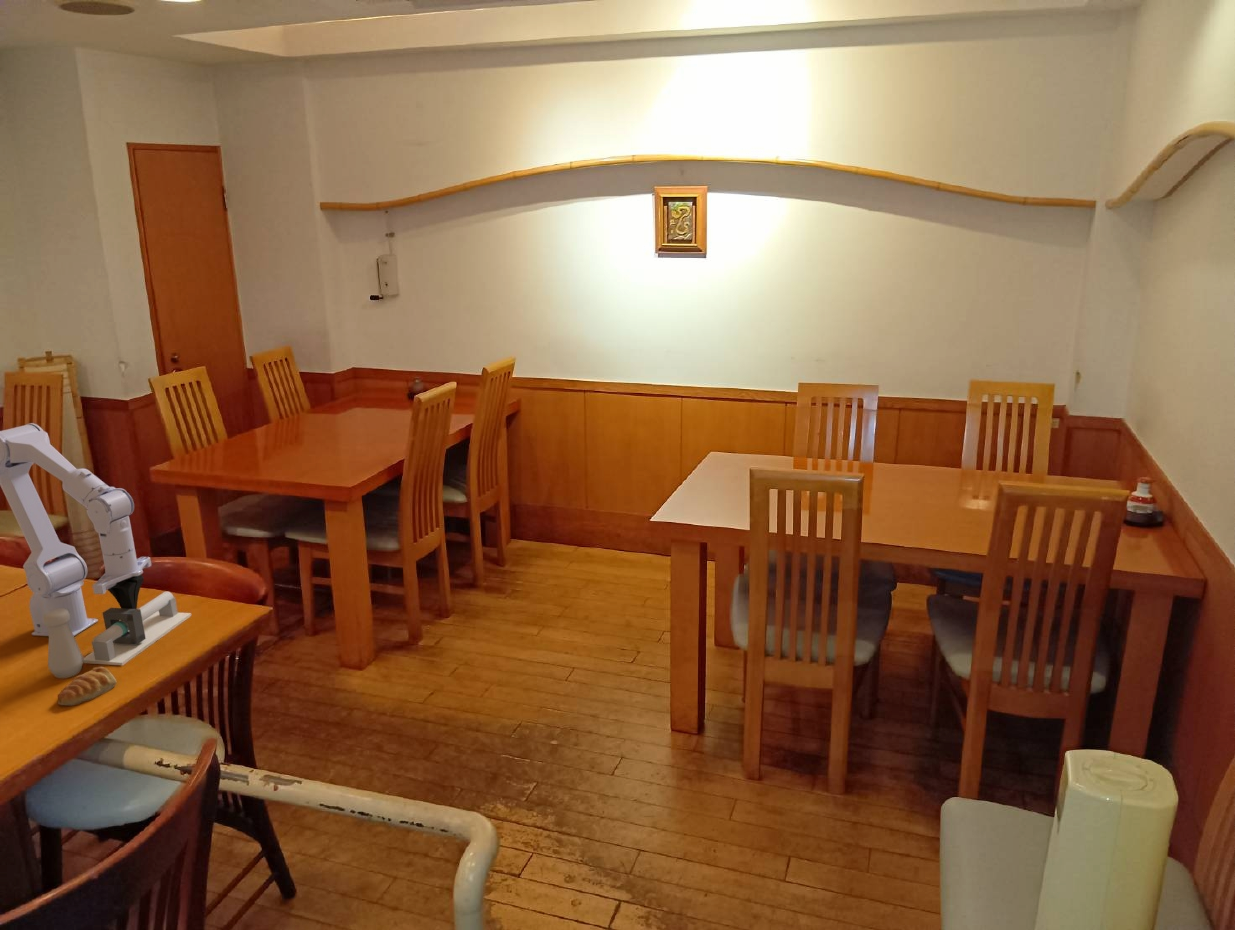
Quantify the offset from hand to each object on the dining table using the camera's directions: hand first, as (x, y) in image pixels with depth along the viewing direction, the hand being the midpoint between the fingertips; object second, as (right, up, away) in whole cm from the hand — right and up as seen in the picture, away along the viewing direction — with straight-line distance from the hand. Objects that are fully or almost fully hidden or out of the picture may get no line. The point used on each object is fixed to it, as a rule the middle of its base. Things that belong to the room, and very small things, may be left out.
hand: (130, 612), depth 178 cm
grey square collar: (0, -6, -1) cm, 6 cm away
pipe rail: (0, -6, +3) cm, 7 cm away
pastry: (+2, -12, -18) cm, 22 cm away
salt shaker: (-6, -10, -11) cm, 16 cm away
